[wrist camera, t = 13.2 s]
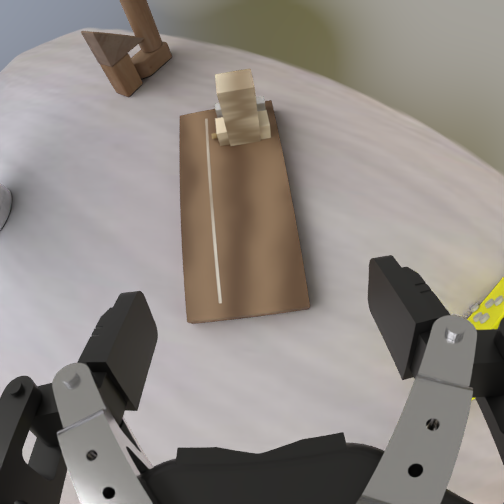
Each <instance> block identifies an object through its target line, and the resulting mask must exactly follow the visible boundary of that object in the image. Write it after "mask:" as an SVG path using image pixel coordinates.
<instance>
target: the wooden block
mask: <svg viewBox="0 0 504 504" xmlns="http://www.w3.org/2000/svg"><path fill="white" fill-rule="evenodd" d="M120 2H121V5H122V7H123V9H124V11H125V14H126V16H127V18H128V21H129V23H130V25H131V27H132V30H133V32H134V34H135V36H136V37H135V36H128V35H120V34H111V33H101V32H88V31H81V33H82V35H83V37H84V38H85V40H86V42H87V44H88V45H89V47H90V49H91V51H92V52H93V54H94V56H95V57H96V59H97V61H98V63H99V64H100V65H101V67H102V69H103V71H104V72H105V74H106V76H107V77H108V79H109V81H110V82H111V84H112V86H113V87H114V89H115V91H116V92H117V93H119V94H122V95H124V96H127V97H129V96H131V95H132V94H133V93H134V92H135V91H136V90H137V89H138V88H139V87H140V86H141V85H142V84H143V82H142V80H141V79H142V78H145V77H148V76H151V75H152V74H153V73H155V72H156V71H157V70H158V69H159V68H160V67H161V66H162V65H164V64H165V63H166V62H167V61H168V60H169V59H170V58H172V55H171V52H170V50H169V47H168V44H167V43H166V42H162V40H161V38H160V35H159V32H158V30H157V27H156V25H155V22H154V19H153V16H152V14H151V11H150V9H149V6H148V3H147V1H146V0H120ZM137 44H139V45H140V48H141V50H140V51H139V52H138V53H137V54H135V55H134V56H133V57H132V58H130V56H129V54H128V52H129V51H130V50H131V49H133V48H134V47H135V46H136V45H137Z"/></svg>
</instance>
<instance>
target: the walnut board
mask: <svg viewBox="0 0 504 504" xmlns="http://www.w3.org/2000/svg"><path fill="white" fill-rule="evenodd" d="M256 103H257V111H264V110H267V114H268V119H269V123H270V133H271V138H267V139H261V141H260V142H253V143H247V144H241V145H235V146H230V144H229V145H223V146H220V143H219V140H218V138H217V139H212V135H211V134H213V133H217V132H216V122H215V118H221V117H223V115H222V111H221V107H220V104H219V103H216V104H215V109H212V110H206V111H201V112H196V113H191V114H186V115H182V116H180V207H181V234H182V254H183V272H184V287H185V301H186V313H187V322H188V323H192V324H196V323H205V322H215V321H224V320H232V319H241V318H249V317H257V316H265V315H272V314H279V313H287V312H293V311H300V310H307V309H309V308H310V303H309V296H308V290H307V283H306V277H305V271H304V265H303V259H302V253H301V247H300V241H299V236H298V230H297V224H296V219H295V213H294V208H293V203H292V197H291V192H290V187H289V182H288V177H287V172H286V167H285V162H284V157H283V152H282V147H281V142H280V137H279V133H278V128H277V124H276V119H275V114H274V110H273V105H272V101H271V100H270V101H265V100H264V96H261V97H256Z"/></svg>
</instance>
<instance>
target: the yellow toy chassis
mask: <svg viewBox="0 0 504 504" xmlns="http://www.w3.org/2000/svg"><path fill="white" fill-rule="evenodd" d="M470 310H471V312H472V314H471V316H470V317H469V318H468V319H467V320H468V321H470V322H471V323H472V324H473V325H474V327H475V328H476V330H488V329H498V327H499V324H500V321H501V320H502V318H503V317H504V277H503V278H502V279H501V280H500V282H499V283H498V284H497V285H496V287H495V288H494V289H493V290H492V291H491V293H490V294H489V295H488V296H487V297H486V299H485V300H484V301H483V302H482V303H481V304H480V305H479V304H478V303H476V304H475V305H473V306H472V307H471V309H470ZM473 399H475V398H472V400H473Z"/></svg>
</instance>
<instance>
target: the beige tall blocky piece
mask: <svg viewBox="0 0 504 504" xmlns="http://www.w3.org/2000/svg"><path fill="white" fill-rule="evenodd" d="M215 79H216V90H217V96H218V100H219V104H220V107H221V111H222V115H223V117H221V118H215V122H216V132H217V133H213V134H211V135H212V139H217V138H218V140H219V143H220V146H223V145H229V144H230V146H235V145H241V144H247V143H253V142H260V141H261V139H267V138H271V133H270V123H269V119H268V114H267V110H264V111H257V103H256V95H255V88H254V83H253V78H252V74H251V69H245V70H238V71H232V72H226V73H221V74H215Z"/></svg>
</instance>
